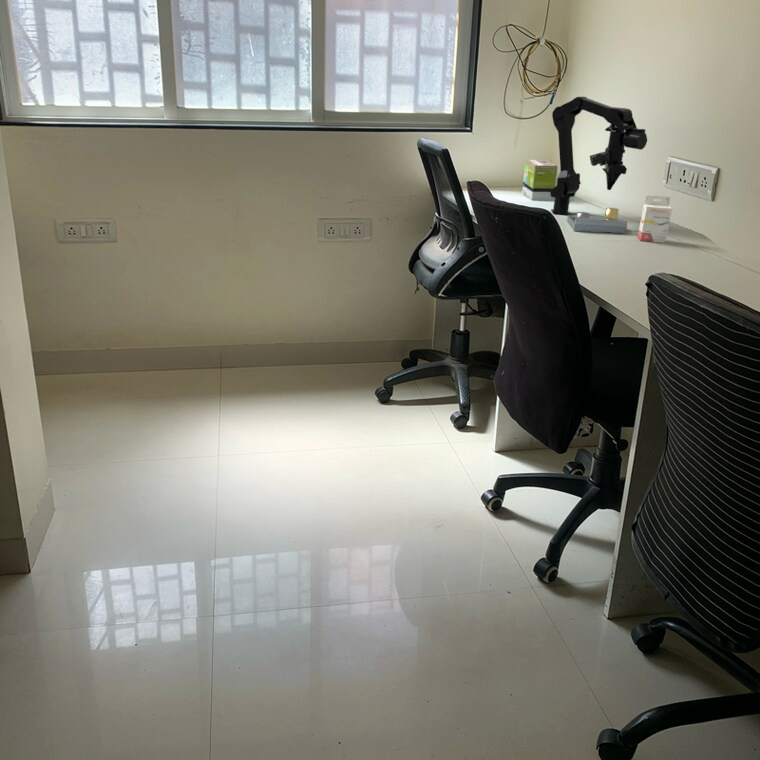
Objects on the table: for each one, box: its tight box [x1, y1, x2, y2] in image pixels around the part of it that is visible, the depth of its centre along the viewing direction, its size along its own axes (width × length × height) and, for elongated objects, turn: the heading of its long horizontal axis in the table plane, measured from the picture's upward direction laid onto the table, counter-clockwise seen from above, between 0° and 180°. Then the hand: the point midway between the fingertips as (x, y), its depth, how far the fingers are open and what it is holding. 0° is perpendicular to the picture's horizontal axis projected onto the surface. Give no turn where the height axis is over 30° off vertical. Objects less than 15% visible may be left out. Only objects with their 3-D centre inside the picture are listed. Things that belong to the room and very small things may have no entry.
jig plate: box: [566, 214, 628, 234], centre depth 280 cm, size 16×18×4 cm
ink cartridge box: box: [637, 194, 673, 243], centre depth 263 cm, size 9×5×15 cm, turn 84°
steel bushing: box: [576, 211, 591, 218], centre depth 280 cm, size 4×4×5 cm
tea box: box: [521, 159, 558, 202], centre depth 330 cm, size 15×10×15 cm, turn 6°
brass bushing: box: [604, 207, 620, 220], centre depth 280 cm, size 4×4×7 cm
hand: (608, 189), depth 284 cm, fingers closed
